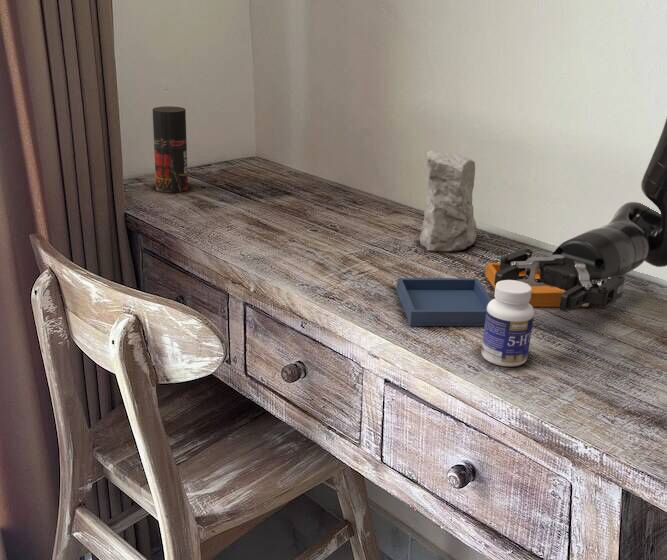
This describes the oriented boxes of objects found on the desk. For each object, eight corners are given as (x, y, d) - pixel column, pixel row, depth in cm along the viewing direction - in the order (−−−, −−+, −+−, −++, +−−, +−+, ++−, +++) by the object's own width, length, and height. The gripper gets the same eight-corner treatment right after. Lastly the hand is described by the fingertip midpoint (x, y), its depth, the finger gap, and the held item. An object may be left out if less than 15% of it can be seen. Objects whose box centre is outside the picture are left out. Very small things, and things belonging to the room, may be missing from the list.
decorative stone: (477, 255, 126) (487, 163, 121) (418, 251, 127) (425, 159, 122) (475, 235, 135) (484, 148, 130) (420, 230, 136) (427, 144, 131)
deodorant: (156, 184, 157) (153, 106, 151) (187, 184, 158) (185, 106, 152) (155, 192, 152) (151, 112, 146) (187, 192, 153) (185, 112, 147)
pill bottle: (509, 372, 91) (518, 299, 87) (471, 355, 94) (479, 284, 91) (536, 358, 94) (546, 287, 91) (499, 342, 98) (508, 274, 94)
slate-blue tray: (498, 326, 102) (500, 311, 101) (410, 326, 101) (411, 311, 100) (476, 291, 112) (478, 278, 112) (396, 291, 111) (397, 277, 111)
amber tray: (588, 306, 109) (590, 293, 108) (506, 306, 108) (508, 292, 107) (560, 275, 119) (562, 263, 118) (485, 275, 118) (486, 262, 117)
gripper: (548, 219, 108) (481, 246, 97) (652, 246, 100) (591, 279, 88) (541, 272, 111) (474, 304, 100) (642, 303, 102) (581, 341, 91)
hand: (529, 292), depth 94 cm, fingers open, 8 cm apart
